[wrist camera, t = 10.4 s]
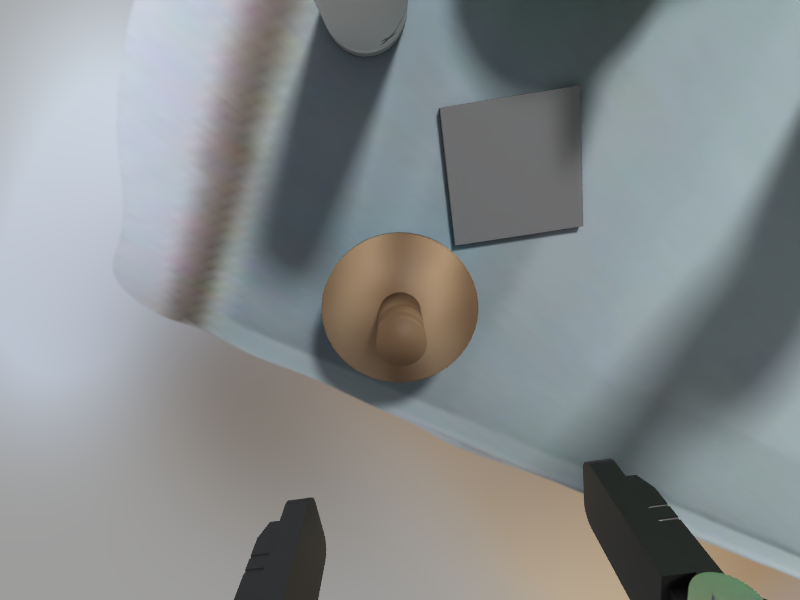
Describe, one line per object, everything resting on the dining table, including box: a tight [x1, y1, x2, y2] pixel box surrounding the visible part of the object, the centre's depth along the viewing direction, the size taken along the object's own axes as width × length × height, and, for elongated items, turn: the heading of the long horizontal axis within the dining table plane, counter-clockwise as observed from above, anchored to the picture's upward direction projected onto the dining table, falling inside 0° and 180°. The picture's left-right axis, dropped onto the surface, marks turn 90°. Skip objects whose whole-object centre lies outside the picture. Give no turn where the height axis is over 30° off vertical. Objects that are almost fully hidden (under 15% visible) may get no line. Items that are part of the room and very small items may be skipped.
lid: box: [322, 232, 478, 382], centre depth 29 cm, size 12×12×7 cm
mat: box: [439, 85, 583, 246], centre depth 34 cm, size 11×11×1 cm
